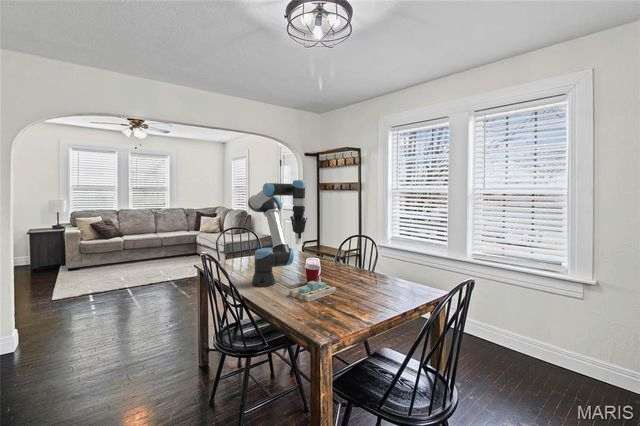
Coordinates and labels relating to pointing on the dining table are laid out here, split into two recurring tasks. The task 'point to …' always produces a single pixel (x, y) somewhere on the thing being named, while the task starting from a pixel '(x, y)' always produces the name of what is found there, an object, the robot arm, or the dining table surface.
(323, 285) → the button
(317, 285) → the button
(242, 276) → the dining table surface
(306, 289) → the button
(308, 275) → the plastic cup
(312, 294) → the board
